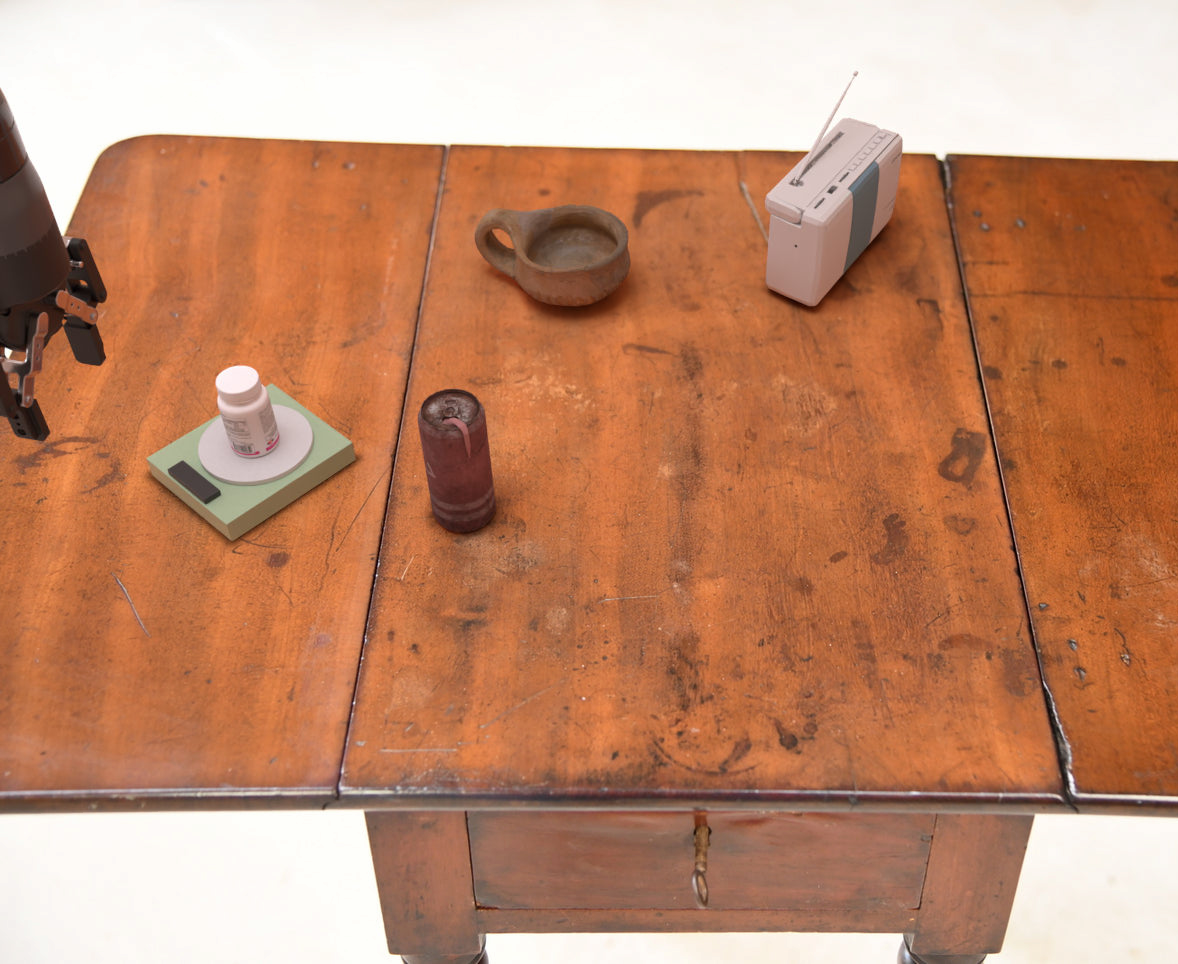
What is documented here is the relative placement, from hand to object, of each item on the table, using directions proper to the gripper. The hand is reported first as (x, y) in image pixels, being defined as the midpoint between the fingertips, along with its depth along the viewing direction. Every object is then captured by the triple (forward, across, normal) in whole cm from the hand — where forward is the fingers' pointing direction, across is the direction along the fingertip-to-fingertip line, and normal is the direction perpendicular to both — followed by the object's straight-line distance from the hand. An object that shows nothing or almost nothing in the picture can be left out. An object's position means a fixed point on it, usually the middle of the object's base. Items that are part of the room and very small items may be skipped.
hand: (64, 398), depth 106 cm
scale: (+28, -21, 0) cm, 35 cm away
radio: (+28, -68, +52) cm, 90 cm away
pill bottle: (+25, -21, +1) cm, 33 cm away
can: (+28, -19, +23) cm, 41 cm away
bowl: (+28, -56, +22) cm, 66 cm away
